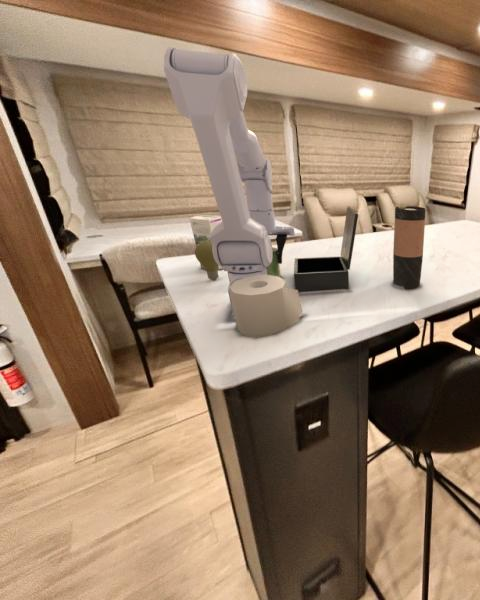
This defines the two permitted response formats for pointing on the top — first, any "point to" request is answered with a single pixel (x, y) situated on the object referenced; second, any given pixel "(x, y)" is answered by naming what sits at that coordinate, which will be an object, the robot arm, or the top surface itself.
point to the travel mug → (408, 246)
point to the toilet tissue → (264, 305)
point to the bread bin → (320, 274)
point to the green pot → (274, 264)
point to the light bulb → (207, 259)
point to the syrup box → (204, 228)
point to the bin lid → (349, 236)
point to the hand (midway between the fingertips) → (268, 263)
